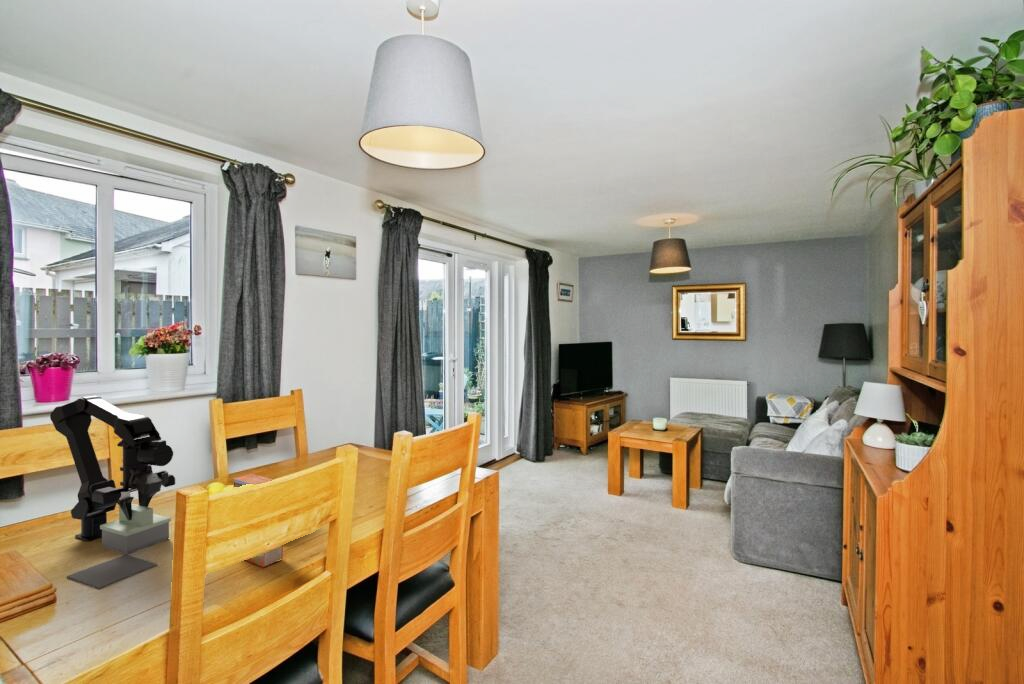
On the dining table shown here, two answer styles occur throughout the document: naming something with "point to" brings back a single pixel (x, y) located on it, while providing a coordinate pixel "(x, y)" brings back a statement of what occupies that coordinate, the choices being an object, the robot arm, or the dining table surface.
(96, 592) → the dining table surface
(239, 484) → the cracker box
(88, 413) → the robot arm
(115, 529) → the lid
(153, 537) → the storage box
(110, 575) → the mat
